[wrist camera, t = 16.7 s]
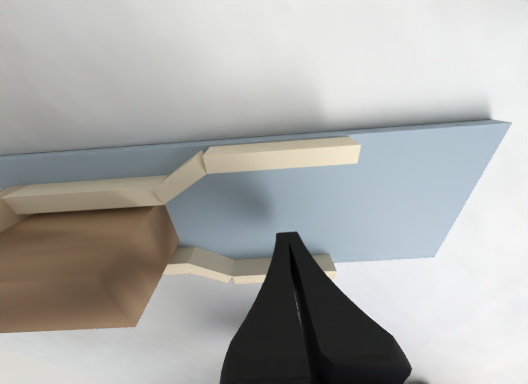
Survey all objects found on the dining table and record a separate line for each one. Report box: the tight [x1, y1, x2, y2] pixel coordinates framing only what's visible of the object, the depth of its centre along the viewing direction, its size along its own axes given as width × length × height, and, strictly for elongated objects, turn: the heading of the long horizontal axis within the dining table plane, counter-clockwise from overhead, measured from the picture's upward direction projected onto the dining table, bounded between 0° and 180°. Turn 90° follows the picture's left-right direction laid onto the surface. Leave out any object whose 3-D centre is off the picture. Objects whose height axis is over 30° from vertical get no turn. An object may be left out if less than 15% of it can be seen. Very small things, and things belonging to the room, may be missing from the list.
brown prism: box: [0, 204, 180, 333], centre depth 11 cm, size 4×8×6 cm, turn 94°
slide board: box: [0, 120, 511, 284], centre depth 13 cm, size 11×31×4 cm, turn 94°
